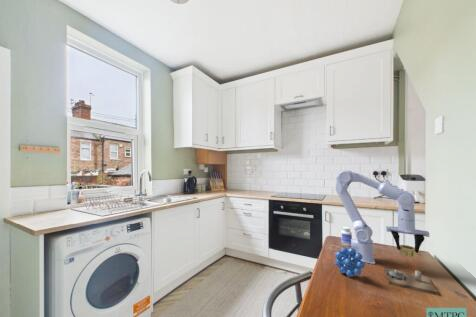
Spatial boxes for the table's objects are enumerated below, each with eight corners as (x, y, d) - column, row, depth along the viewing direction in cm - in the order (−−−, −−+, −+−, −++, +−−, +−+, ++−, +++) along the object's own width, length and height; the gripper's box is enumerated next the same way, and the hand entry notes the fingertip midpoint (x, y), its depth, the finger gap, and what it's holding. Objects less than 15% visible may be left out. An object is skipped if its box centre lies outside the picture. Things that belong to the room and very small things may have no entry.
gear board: (388, 283, 77) (388, 271, 78) (384, 270, 88) (384, 259, 88) (438, 295, 71) (437, 282, 71) (427, 279, 81) (426, 267, 81)
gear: (401, 255, 87) (400, 248, 87) (397, 250, 93) (397, 243, 93) (418, 258, 84) (417, 251, 84) (413, 252, 90) (413, 245, 90)
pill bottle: (353, 246, 115) (353, 229, 115) (343, 245, 116) (342, 228, 116) (350, 243, 120) (349, 226, 120) (340, 242, 121) (340, 226, 122)
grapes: (369, 279, 80) (368, 248, 81) (362, 285, 76) (361, 252, 77) (339, 267, 90) (339, 240, 90) (332, 272, 85) (331, 243, 86)
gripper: (387, 218, 89) (388, 250, 89) (431, 223, 82) (432, 257, 82) (385, 215, 96) (385, 245, 95) (425, 219, 88) (426, 251, 88)
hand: (407, 250), depth 89 cm, fingers closed on gear, 6 cm apart
